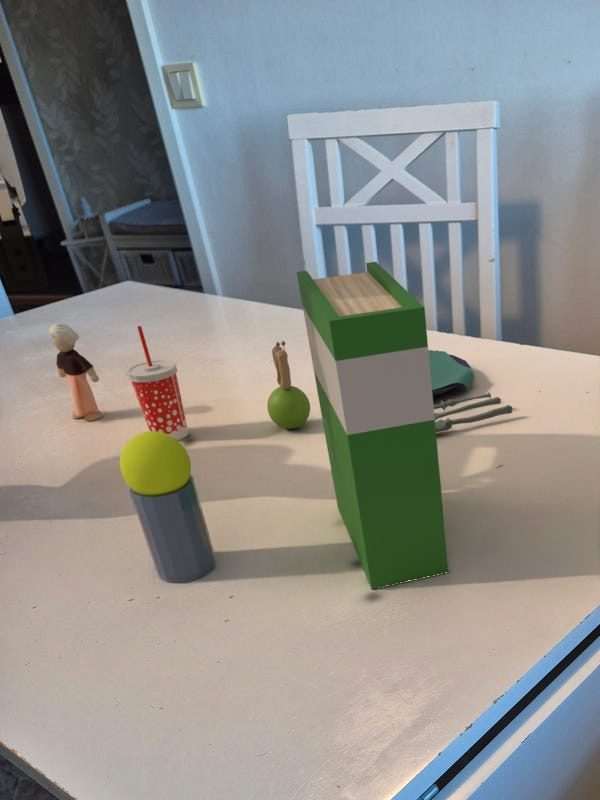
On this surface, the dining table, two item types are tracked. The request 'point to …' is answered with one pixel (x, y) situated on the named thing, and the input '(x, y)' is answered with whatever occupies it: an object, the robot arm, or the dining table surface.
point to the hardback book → (378, 420)
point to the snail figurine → (286, 395)
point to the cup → (176, 533)
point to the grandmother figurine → (75, 372)
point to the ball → (155, 464)
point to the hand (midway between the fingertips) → (22, 277)
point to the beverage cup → (159, 394)
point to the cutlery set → (450, 375)
